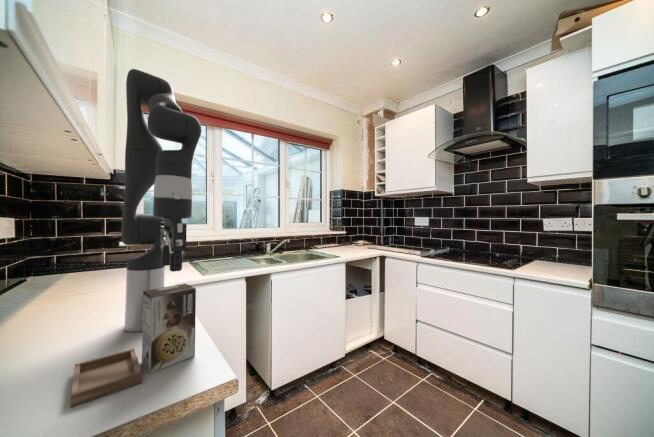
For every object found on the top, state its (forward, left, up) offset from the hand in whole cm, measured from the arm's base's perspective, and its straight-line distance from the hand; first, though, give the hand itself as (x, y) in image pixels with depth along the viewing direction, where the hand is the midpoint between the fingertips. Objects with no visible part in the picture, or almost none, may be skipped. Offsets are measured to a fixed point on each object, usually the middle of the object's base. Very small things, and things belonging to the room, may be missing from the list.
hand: (171, 267), depth 57 cm
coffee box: (0, 0, -21) cm, 21 cm away
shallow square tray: (0, -10, -21) cm, 23 cm away
